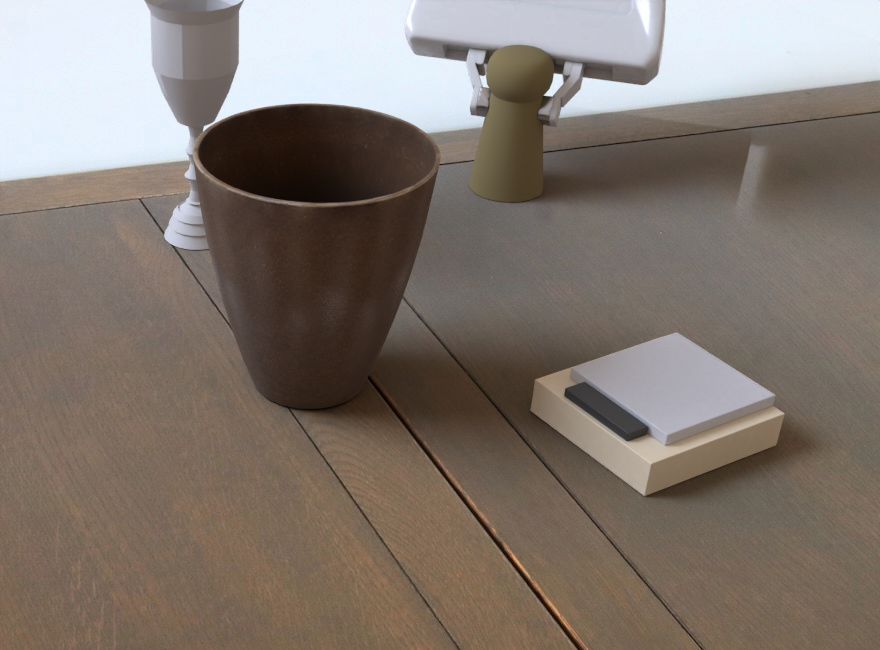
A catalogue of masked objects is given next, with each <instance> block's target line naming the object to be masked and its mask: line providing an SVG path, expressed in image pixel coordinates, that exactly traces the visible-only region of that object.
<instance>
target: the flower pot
mask: <svg viewBox="0 0 880 650" xmlns="http://www.w3.org/2000/svg"><path fill="white" fill-rule="evenodd" d="M192 153H193V161H194V168H195V175H196V182H197V189H198V195H199V201H200V207H201V213H202V219H203V224H204V228H205V233H206V238H207V243H208V247H209V249H208V251H209V255H210V259H211V264H212V268H213V271H214V275H215V279H216V282H217V285H218V290H219V293H220V296H221V300H222V304H223V307H224V310H225V313H226V316H227V318H228V319H227V320H228V322H229V324H230V329H231V330H232V334H233V336H234V339H235V342H236V344H237V347H238V349H239V352H240V355H241V357H242V360H243V362H244V365H245V368H246V369H247V371H248V374H249V376H250V378H251V381H252V383H253V384H254V387H255V389H256V391H258V392H259V394H260V395H262V396H263V397H265V398H266V399H267V400H269V401H271V402H273V403H276V404H279V405H281V406H284V407H289V408H295V409H302V410H303V409H305V410H316V409H317V410H318V409H319V410H321V409H326V408H332V407H334V406H339V405H342V404H344V403H346V402H349V401H350V400H352V399H354V398H355V397H356V396H357V395H358V394H360V392H361V391H362V389H363V387H364V385H365V383H366V382H367V381H368V378H369V376H370V374H371V372H372V370H373V367H374V366H375V364H376V361H377V360H378V357H379V355H380V354H381V351H382V349H383V346H384V344H385V342H386V340H387V337H388V335H389V333H390V330H391V328H392V327H393V326H392V325H393V323H394V321H395V318H396V316H397V313H398V311H399V308H400V305H401V303H402V299H403V297H404V294H405V292H406V289H407V286H408V283H409V280H410V277H411V274H412V271H413V268H414V265H415V262H416V259H417V257H418V252H419V249H420V245H421V242H422V238H423V235H424V231H425V227H426V224H427V220H428V216H429V211H430V208H431V203H432V199H433V193H434V191H435V190H434V189H435V185H436V181H437V177H438V172H439V168H440V164H441V151H440V149H439V146H438V144H437V143H436V142H435V140H434V138H433V137H431V136H430V135H429V134H428V133H427V132H426V131H424V130H423V129H421V128H420V127H418V126H416V125H414V124H413V123H411V122H409V121H407V120H404V119H402V118H399V117H397V116H394V115H392V114H388V113H385V112H381V111H377V110H373V109H369V108H364V107H360V106H359V107H358V106H352V105H345V104H335V103H318V102H317V103H315V102H314V103H312V102H311V103H287V104H285V103H284V104H277V105H269V106H262V107H258V108H253V109H252V108H251V109H248V110H244V111H241V112H237V113H234V114H231V115H229V116H227V117H225V118H222V119H220V120H218V121H216V122H215V123H214V122H213V123H212V124H210V125H209V126H208V127H207V128H206V129H203V132H202V133H201V134H200V136H199V137H198V138H197V140H196V141H195V144H194V146H193V151H192Z"/></svg>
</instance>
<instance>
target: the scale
mask: <svg viewBox="0 0 880 650" xmlns="http://www.w3.org/2000/svg"><path fill="white" fill-rule="evenodd" d="M533 384H534V386H533V390H532V396H531V397H532V398H531V402H530V412H532V413H533V415H535V416H536V417H538V418H539V419H540V420H542V421H543V422H544V423H546V424H547V425H549V426H550V427H551V428H552V429H554V430H555V431H557V432H558V433H559V434H560V435H562V436H563V437H564V438H566V439H567V440H568V441H570V442H571V443H572V444H574V445H575V446H576V447H578V448H579V449H580V450H582V451H583V452H585V453H586V454H587V455H588V456H590V457H591V458H592V459H594V460H595V461H597V463H599V464H601V465H602V466H603V467H605V468H606V469H607V470H609V471H610V472H611V473H613V474H614V476H616V477H618V478H619V479H620V480H622V481H623V482H625V483H626V484H627V485H628V486H630V487H631V488H632V489H634V490H635V491H636V492H637V493H639V494H641V495H642V496H643V497H647V496H649V495H651V494H654V493H657V492H660V491H662V490H664V489H668V488H670V487H672V486H674V485H678V484H680V483H682V482H685V481H687V480H690V479H692V478H695V477H698V476H701V475H703V474H706V473H708V472H711V471H713V470H716V469H719V468H721V467H724V466H727V465H729V464H731V463H735V462H736V461H739V460H742V459H744V458H747V457H749V456H753V455H755V454H757V453H760V452H763V451H765V450H768V449H770V448H773V447H775V446H777V444H778V440H779V437H780V432H781V429H782V426H783V422H784V418H785V415H786V414H785V412H783V411H782V410H780V409H778V408H777V407H775V406H774V404H775V401H776V396H777V395H776V394H775V393H773V392H772V391H770V390H769V389H767V388H765V387H764V386H762V384H761V385H760V384H759V383H757V382H756V381H755V380H753V379H751V378H750V377H748V376H747V375H745V374H743V373H742V372H740V371H738V370H737V369H735V368H734V367H733V366H731V365H729V364H728V363H726V362H724V361H723V360H721V359H720V358H718V357H717V356H715V355H713V354H712V353H711V352H709V351H707V350H706V349H704V348H703V347H701V346H700V345H698V344H697V343H695V342H693V341H691V340H690V339H688V338H687V337H686V336H684V335H682V334H681V333H679V332H678V331H677V332H673V333H670V334H667V335H664V336H663V335H662V336H660V337H657V338H654V339H651V340H648V341H645V342H642V343H639V344H637V345H633V346H630V347H627V348H624V349H621V350H617V351H615V352H612V353H609V354H607V355H604V356H603V355H602V356H601V357H598V358H595V359H592V360H588V361H585V362H583V363H580V364H577V365H574V366H571V367H568V368H564V369H561V370H559V371H556V372H553V373H550V374H547V375H544V376H541V377H538V378H535V379H534V383H533Z"/></svg>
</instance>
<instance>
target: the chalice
mask: <svg viewBox="0 0 880 650" xmlns="http://www.w3.org/2000/svg"><path fill="white" fill-rule="evenodd" d="M143 1H144V2H145V5H146V7H147V8H148V10H149V12H150V16H149V17H150V43H151V44H150V48H151V66H152V69H153V72H154V74H155V78H156V80H157V83H158V85H159V88H160V91H161V94H162V96H163V97H164V99H165V101H166V103H167V105H168V107H169V109H170V110H171V112H172V115H173V117H174V118H175V120H176V122H177V123H178V124H180V125H182V126H185V127H187V128H188V132H189V139H188V144H187V147H186V148H185V150H184V151H185V153H186V155H187V156H188V159H189V166H188V169H187V170H186V171H185V173H184V177H185V178H186V179H187V180H188V183H189V187H190V191H189V196H188V197H187V198H186V199H185V200H182V201H181V202H179V203H178V204H177V205H176V207H174V209H173V211H172V216H171V217H170V219H169V221H168V225H167V227H166V229H165V231H164V235H163V236H164V239H165V241H166V242H168V244H170V245H172V246H174V247H176V248H179V249H183V250H184V249H185V250H192V251H201V250H202V251H203V250H209V247H208V243H207V238H206V233H205V228H204V224H203V219H202V213H201V207H200V201H199V195H198V189H197V182H196V175H195V168H194V161H193V153H192V151H193V146H194V144H195V141H196V140H197V138H198V137H199V136H200V134H201V133H202V132H203V131H204V130H205V127H206V126H210V125H212V124H214V122H215V121H216V120H217V117H218V115H219V113H220V111H221V109H222V107H223V105H224V103H225V101H226V99H227V97H228V95H229V93H230V91H231V88H232V85H233V82H234V79H235V76H236V73H237V69H238V67H239V64H240V10H241V8H242V6H243V4H244V1H245V0H143Z"/></svg>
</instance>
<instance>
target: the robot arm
mask: <svg viewBox="0 0 880 650" xmlns="http://www.w3.org/2000/svg"><path fill="white" fill-rule="evenodd" d="M666 4H667V0H411V1H410V4H409V6H408V10H407V13H406V16H405V20H404V25H403V29H404V30H403V31H404V37H405V40H406V42H407V44H408V46H409V48H410V49H411V51H412V53H413V54H415V55H416V56H420V57H427V58H433V59H434V58H435V59H442V60H443V59H444V60H449V61H458V62H465V65H466V69H467V76H468V79H469V82H470V84H471V88H472V90H473V91H472V95H471V99H470V102H469V112H470V116H473V117H474V116H476V117H481V118H485V116H486V113H487V112H488V108H489V100H490V96H491V90H490V89H489V87H485V86H483V83H482V79H481V77H486V71H487V64H488V62H489V59H490V57H491V56H492V55H493V53H494V52H495V51H496V50H498V49H500V48H502V47H505V46H509V45H528V46H534V47H537V48H540V49H542V50H544V51H545V52H547V53H548V54H549V55H550V57H551V59H552V61H553V64H554V75H555V74H556V75H562V85H560V87H559V88H558V89H557V90H556V91H555V93H554V94H553V95H552V96H551V95H544V96H543V98H542V102H541V108H539V111H538V117H537V119H538V120H539V121H540V122H541V124H542V125H543V126H548V127H552V128H557V127H558V123H559V120H560V115H561V111H562V108H564V107H565V106H566V105H568V104H569V102H570V101H571V100H572V99H573V98H574V97H575V96H576V95H577V94H578V93H579V92H580V91H581V88H582V85H583V79H584V78H585V79H592V80H601V81H606V82H614V83H615V82H616V83H622V84H631V85H638V86H646V85H648V84H649V83H650V82H652V81H653V80H654V79H655V78H656V77H657V76H658V75H659V72H660V68H661V63H662V57H663V49H664V48H663V47H664V40H665V32H666V31H665V29H666V7H667V5H666Z"/></svg>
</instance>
